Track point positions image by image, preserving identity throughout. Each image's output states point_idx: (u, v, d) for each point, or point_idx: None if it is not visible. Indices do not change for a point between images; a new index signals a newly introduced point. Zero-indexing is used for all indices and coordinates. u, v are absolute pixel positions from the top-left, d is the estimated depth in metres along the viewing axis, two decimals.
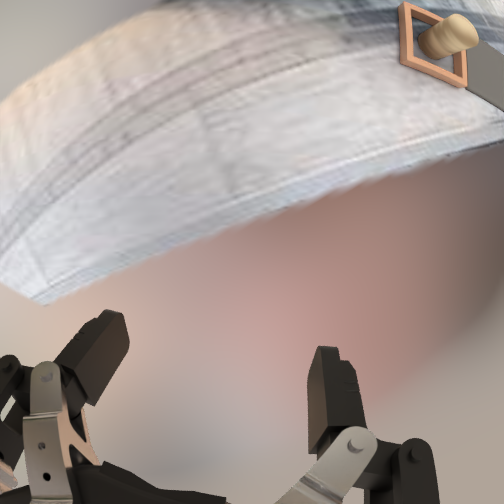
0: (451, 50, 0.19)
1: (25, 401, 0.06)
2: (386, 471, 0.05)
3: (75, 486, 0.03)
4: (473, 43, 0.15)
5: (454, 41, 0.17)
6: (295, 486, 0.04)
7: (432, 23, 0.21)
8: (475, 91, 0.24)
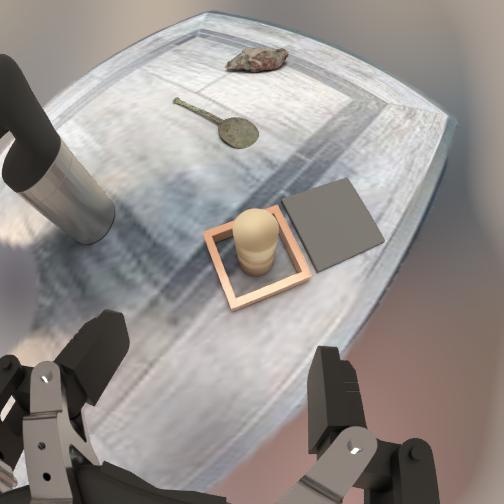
0: (264, 261, 0.31)
1: (25, 401, 0.06)
2: (386, 471, 0.05)
3: (75, 486, 0.03)
4: (272, 237, 0.28)
5: (254, 255, 0.29)
6: (295, 486, 0.04)
7: None
8: (328, 265, 0.36)
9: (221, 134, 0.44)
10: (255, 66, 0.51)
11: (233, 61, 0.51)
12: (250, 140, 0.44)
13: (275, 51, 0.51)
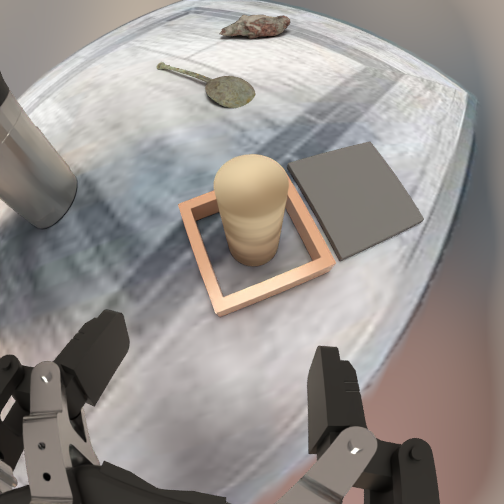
0: (264, 238, 0.20)
1: (25, 401, 0.06)
2: (386, 471, 0.05)
3: (75, 486, 0.03)
4: (279, 194, 0.17)
5: (249, 225, 0.17)
6: (295, 486, 0.04)
7: None
8: (355, 250, 0.25)
9: (208, 92, 0.33)
10: (253, 31, 0.40)
11: (228, 27, 0.41)
12: (244, 98, 0.34)
13: (275, 18, 0.41)
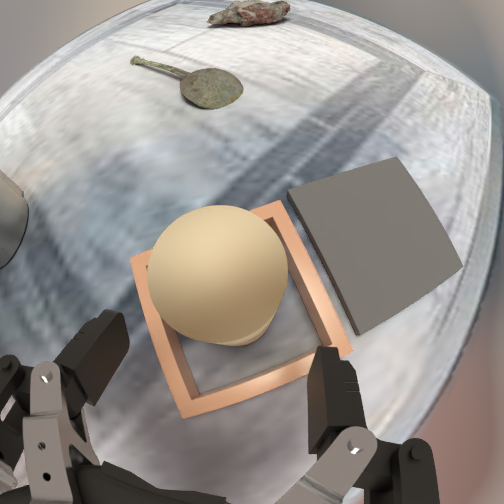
0: (246, 341, 0.12)
1: (25, 401, 0.06)
2: (386, 471, 0.05)
3: (75, 486, 0.03)
4: (268, 297, 0.09)
5: None
6: (295, 486, 0.04)
7: None
8: (378, 321, 0.17)
9: (182, 89, 0.25)
10: (247, 18, 0.32)
11: (217, 14, 0.33)
12: (228, 96, 0.25)
13: (273, 3, 0.33)
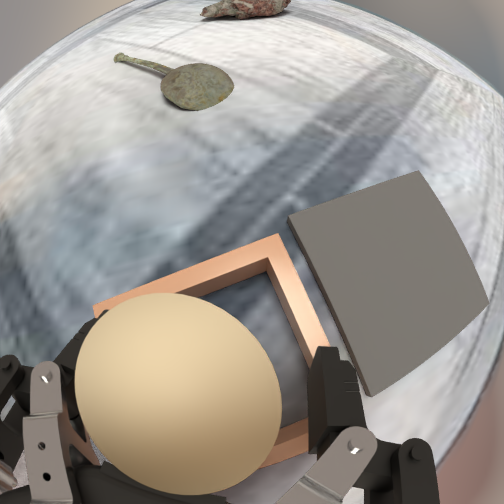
0: None
1: (25, 401, 0.06)
2: (386, 471, 0.05)
3: (75, 486, 0.03)
4: (248, 450, 0.04)
5: None
6: (295, 486, 0.04)
7: (197, 294, 0.15)
8: (394, 379, 0.13)
9: (163, 88, 0.21)
10: (243, 10, 0.28)
11: (211, 6, 0.29)
12: (216, 95, 0.21)
13: None
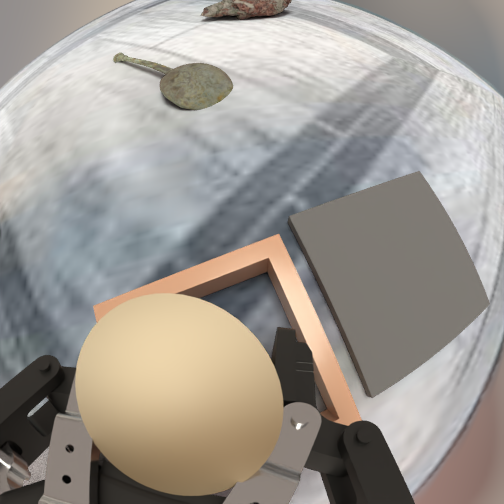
0: None
1: (59, 405, 0.06)
2: (332, 452, 0.06)
3: (95, 495, 0.03)
4: (249, 451, 0.04)
5: None
6: None
7: (197, 295, 0.15)
8: (395, 380, 0.13)
9: (162, 88, 0.21)
10: (244, 9, 0.28)
11: (212, 6, 0.29)
12: (214, 94, 0.21)
13: None
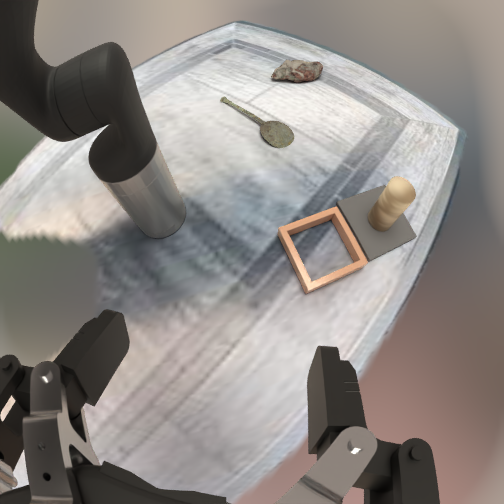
0: None
1: (25, 401, 0.06)
2: (386, 471, 0.05)
3: (75, 486, 0.03)
4: (413, 194, 0.35)
5: (402, 207, 0.36)
6: (295, 486, 0.04)
7: (311, 225, 0.45)
8: (376, 255, 0.43)
9: (262, 133, 0.52)
10: (298, 77, 0.59)
11: (278, 72, 0.59)
12: (287, 141, 0.52)
13: (312, 64, 0.60)
